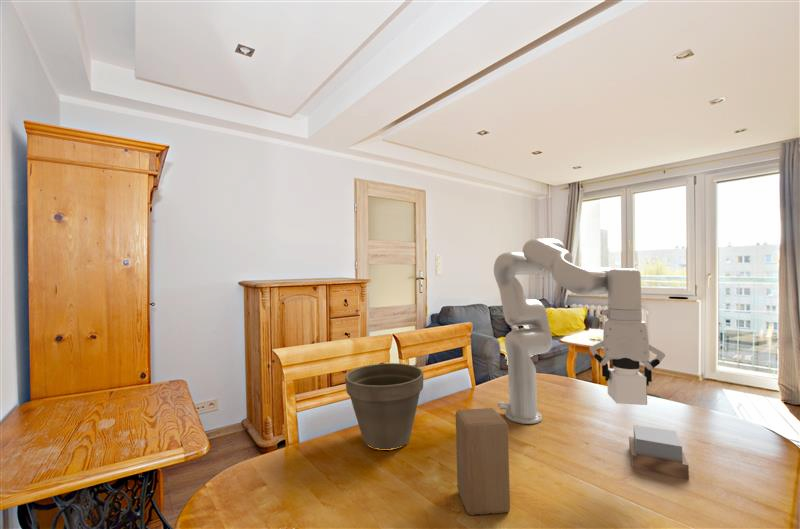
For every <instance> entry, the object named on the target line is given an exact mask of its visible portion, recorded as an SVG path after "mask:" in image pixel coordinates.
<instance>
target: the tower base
mask: <svg viewBox="0 0 800 529" xmlns="http://www.w3.org/2000/svg"><path fill="white" fill-rule="evenodd" d="M628 445H629V446H628V448H629V453H630V458H631V464H632V465H631V466H632V469H636V470H643V471H647V472H652V473H656V474H657V473H658V474H662V475H668V476H672V477H678V478H682V479H688V480H690V475H689V474H690V473H689V470H690V469H689V462H688V461H687V459H686V457H685V455H684V453H683V452H684V451H682V458H683V462H678V461H673V460H668V459H662V458H657V457H652V456H646V455H641V454H636V448H635V442H634V436H628Z"/></svg>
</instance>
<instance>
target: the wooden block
mask: <svg viewBox="0 0 800 529" xmlns="http://www.w3.org/2000/svg"><path fill="white" fill-rule="evenodd" d="M455 436H456V437H455V441H456V442H455V444H456V445H455V447H456V475H457V476H456V479H457V480H456V481H457V482H456V483H457V486H456V487H457V491H458V493H459V496H460V498H461V501H462V503H463V506H464V509H465V511H466V513H467V515H469V514H471V515H470V516H473V515H472V514H480V515H489V513H492V514H501V513H502V514H503V513H508V512H510V510H511V490H510V489H511V488H510V486H511V485H510V461H509V460H510V459H509V458H510V457H509V456H510V455H509V453H510V452H509V451H510V450H509V425H508V423H507V421H506V420H505V419H504V417H502V415H501V414H500V413H499V412H498V411H497V410H496V409H495V408H493V407H492V408H491V407H489V408H474V409H473V408H470V409H458V410H456V413H455Z"/></svg>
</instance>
